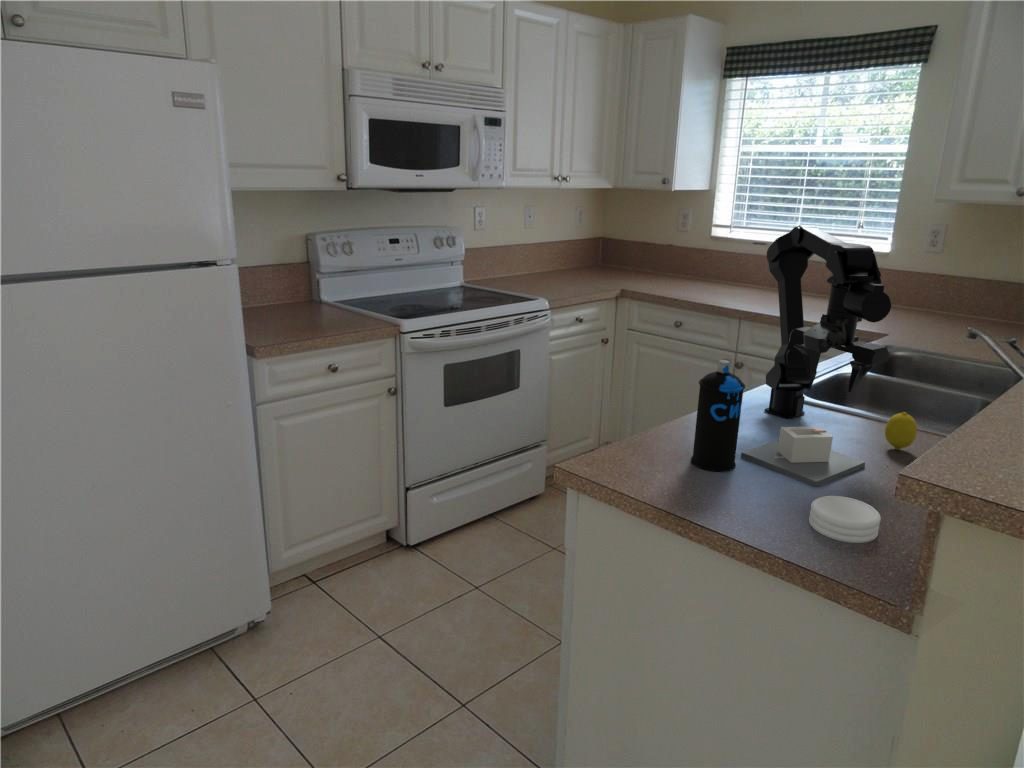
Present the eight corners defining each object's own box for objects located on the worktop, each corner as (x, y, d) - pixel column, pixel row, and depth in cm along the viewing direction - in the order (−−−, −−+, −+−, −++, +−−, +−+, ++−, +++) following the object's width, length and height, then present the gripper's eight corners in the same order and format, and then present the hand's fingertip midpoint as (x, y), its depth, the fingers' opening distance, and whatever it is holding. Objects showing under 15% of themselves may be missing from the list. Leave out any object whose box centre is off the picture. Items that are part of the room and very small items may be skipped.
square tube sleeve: (777, 451, 141) (780, 426, 139) (814, 450, 142) (818, 425, 140) (790, 462, 136) (794, 436, 134) (829, 461, 137) (833, 435, 135)
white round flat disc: (843, 549, 108) (847, 528, 107) (794, 520, 117) (797, 500, 116) (892, 537, 112) (896, 517, 111) (841, 509, 121) (844, 490, 120)
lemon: (903, 444, 149) (910, 407, 147) (918, 455, 144) (926, 417, 141) (876, 444, 149) (883, 407, 146) (891, 455, 143) (898, 416, 141)
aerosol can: (681, 458, 140) (691, 357, 134) (716, 452, 143) (727, 353, 137) (709, 474, 132) (720, 369, 127) (744, 468, 136) (758, 365, 130)
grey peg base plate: (740, 457, 141) (743, 437, 140) (790, 440, 150) (792, 422, 149) (815, 486, 128) (819, 466, 127) (864, 466, 137) (868, 447, 136)
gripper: (776, 304, 146) (766, 378, 151) (861, 324, 131) (846, 406, 136) (812, 299, 151) (801, 371, 156) (897, 318, 136) (882, 397, 141)
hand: (830, 385), depth 147 cm, fingers open, 9 cm apart
